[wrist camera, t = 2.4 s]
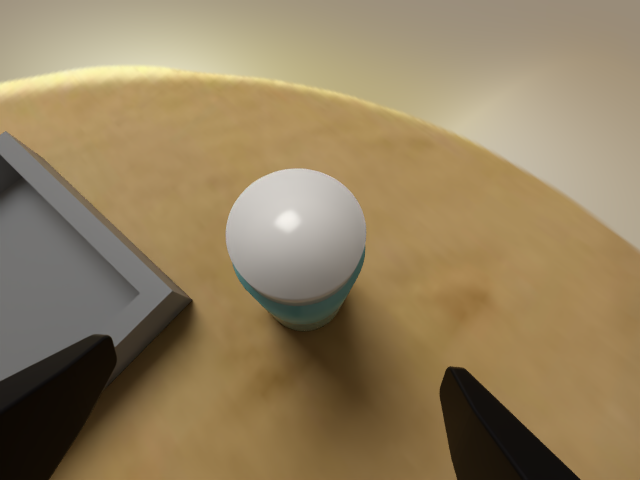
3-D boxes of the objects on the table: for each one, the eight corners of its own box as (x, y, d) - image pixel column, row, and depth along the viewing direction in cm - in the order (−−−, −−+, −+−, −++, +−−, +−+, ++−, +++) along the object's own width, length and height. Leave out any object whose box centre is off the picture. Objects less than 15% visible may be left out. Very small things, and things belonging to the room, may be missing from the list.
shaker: (308, 348, 19) (303, 341, 9) (249, 295, 20) (187, 236, 10) (359, 286, 20) (402, 221, 11) (300, 238, 22) (290, 139, 12)
